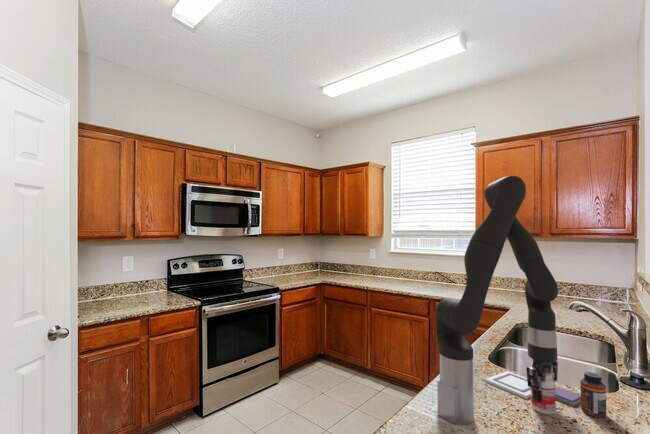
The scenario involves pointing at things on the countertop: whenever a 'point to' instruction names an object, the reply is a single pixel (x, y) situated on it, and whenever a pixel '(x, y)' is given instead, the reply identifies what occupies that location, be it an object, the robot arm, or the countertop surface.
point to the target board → (511, 383)
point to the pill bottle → (546, 397)
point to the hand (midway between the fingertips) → (543, 398)
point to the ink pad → (567, 397)
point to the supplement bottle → (593, 395)
